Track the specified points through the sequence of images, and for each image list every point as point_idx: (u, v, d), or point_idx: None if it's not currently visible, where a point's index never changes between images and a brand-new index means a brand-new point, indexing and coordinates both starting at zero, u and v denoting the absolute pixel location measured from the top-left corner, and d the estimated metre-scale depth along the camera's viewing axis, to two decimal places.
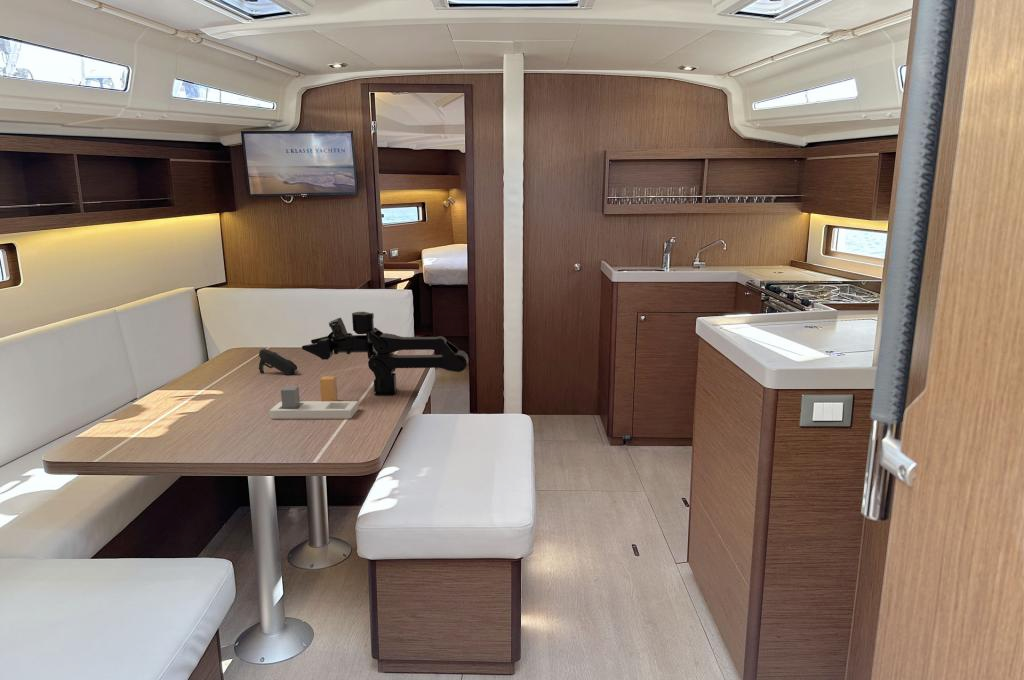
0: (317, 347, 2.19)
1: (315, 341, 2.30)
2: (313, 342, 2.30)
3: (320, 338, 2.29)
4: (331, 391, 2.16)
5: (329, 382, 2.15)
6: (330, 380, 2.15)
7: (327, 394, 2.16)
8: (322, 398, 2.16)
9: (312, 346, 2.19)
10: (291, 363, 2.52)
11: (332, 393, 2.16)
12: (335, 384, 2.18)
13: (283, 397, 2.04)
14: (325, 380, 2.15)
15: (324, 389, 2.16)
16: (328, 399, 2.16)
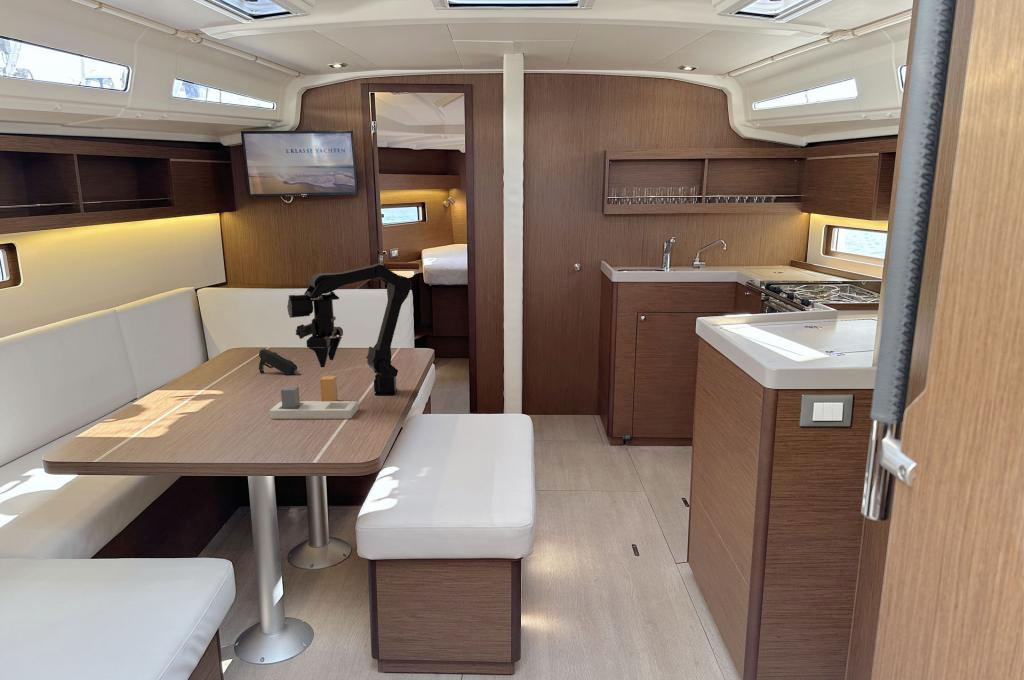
0: (319, 351, 2.09)
1: (330, 355, 2.20)
2: (332, 357, 2.20)
3: None
4: (331, 391, 2.16)
5: (329, 382, 2.15)
6: (330, 380, 2.15)
7: (327, 394, 2.16)
8: (322, 398, 2.16)
9: (318, 356, 2.10)
10: (291, 363, 2.52)
11: (332, 393, 2.16)
12: (335, 384, 2.18)
13: (283, 397, 2.04)
14: (325, 380, 2.15)
15: (324, 389, 2.16)
16: (328, 399, 2.16)
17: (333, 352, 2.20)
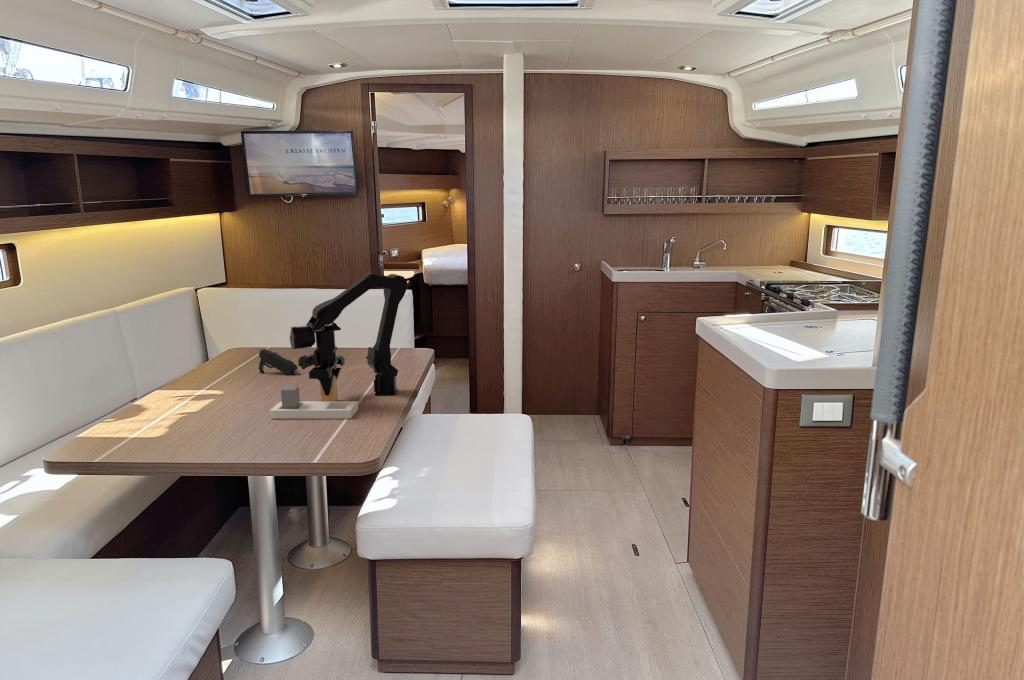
0: (324, 380, 2.14)
1: None
2: None
3: None
4: (331, 391, 2.16)
5: None
6: None
7: None
8: (322, 398, 2.16)
9: (323, 384, 2.14)
10: (291, 363, 2.52)
11: (332, 393, 2.16)
12: (335, 384, 2.18)
13: (283, 397, 2.04)
14: None
15: None
16: (328, 399, 2.16)
17: None
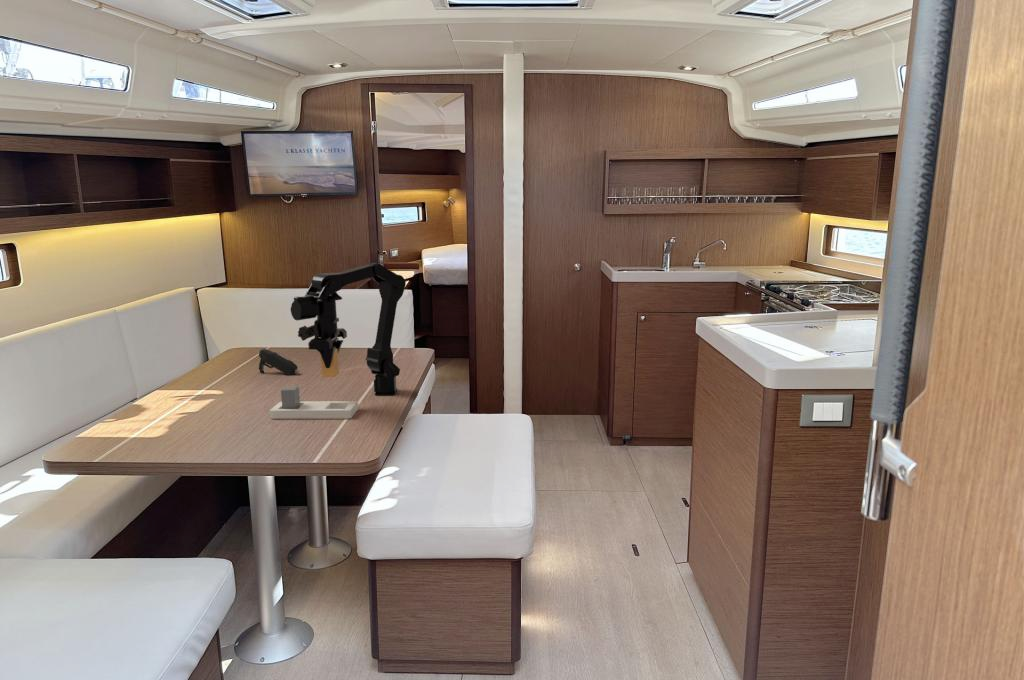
0: (324, 351, 2.06)
1: None
2: None
3: None
4: (332, 363, 2.08)
5: None
6: None
7: None
8: (322, 371, 2.09)
9: (323, 356, 2.06)
10: (291, 363, 2.52)
11: (333, 365, 2.08)
12: (336, 356, 2.10)
13: (283, 397, 2.04)
14: None
15: None
16: (329, 372, 2.09)
17: None
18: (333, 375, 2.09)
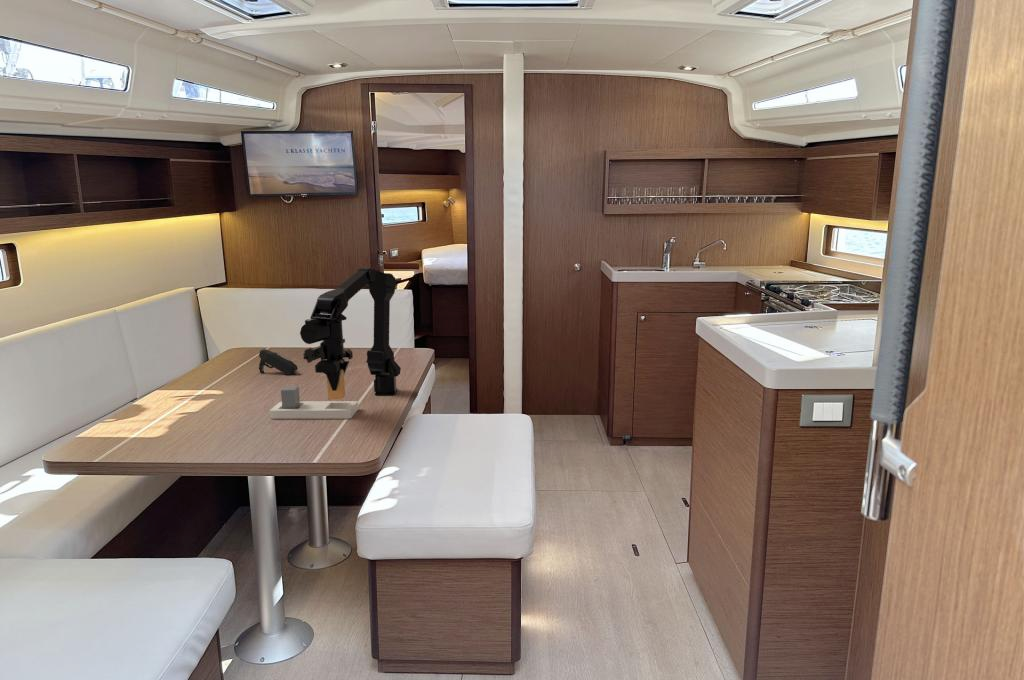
0: (331, 374, 2.01)
1: None
2: None
3: None
4: (338, 386, 2.03)
5: None
6: None
7: None
8: (329, 393, 2.04)
9: (330, 379, 2.01)
10: (291, 363, 2.52)
11: (339, 388, 2.03)
12: (342, 378, 2.05)
13: (283, 397, 2.04)
14: None
15: None
16: (335, 394, 2.04)
17: None
18: (340, 398, 2.04)
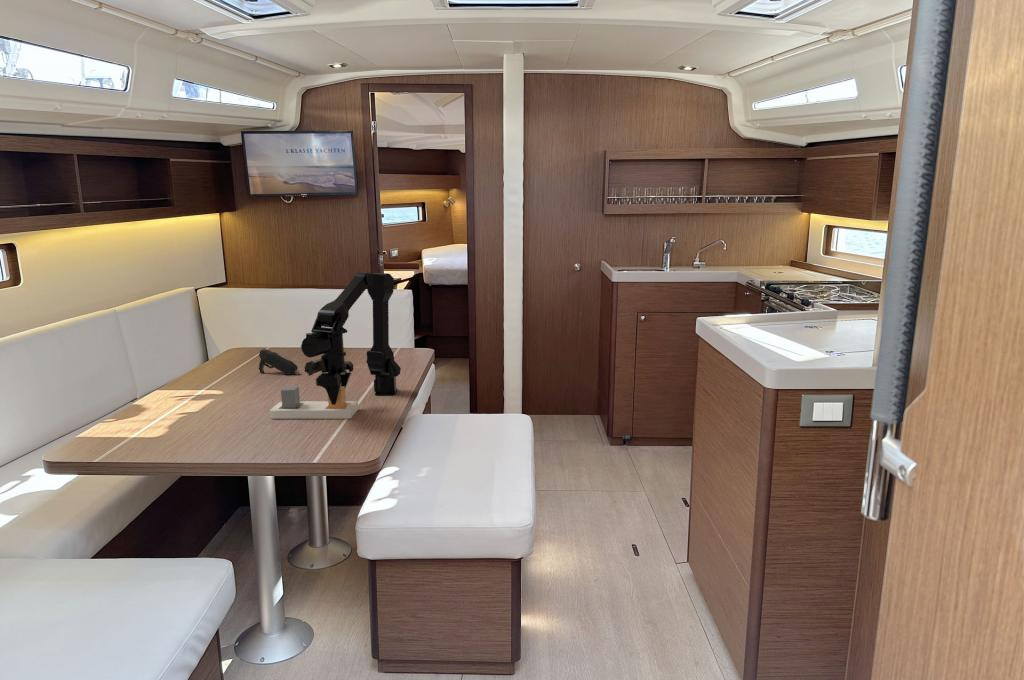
0: (330, 388, 2.00)
1: None
2: None
3: None
4: (339, 402, 2.04)
5: None
6: None
7: (335, 405, 2.04)
8: None
9: (329, 393, 2.00)
10: (291, 363, 2.52)
11: (340, 404, 2.04)
12: (343, 395, 2.06)
13: (283, 397, 2.04)
14: None
15: None
16: None
17: None
18: None
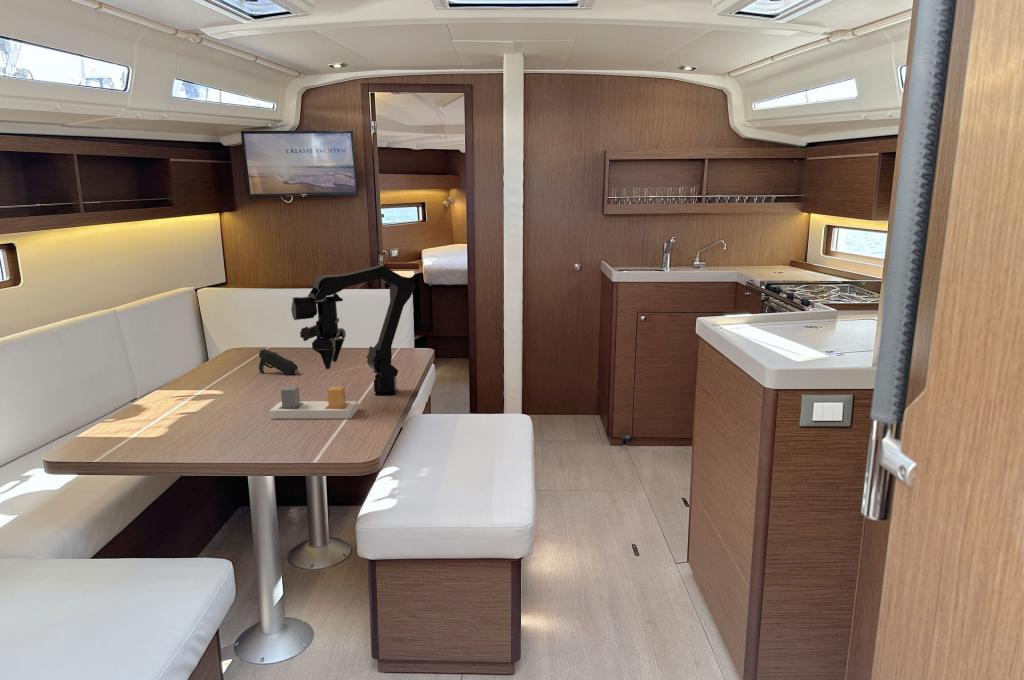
0: (325, 353, 2.10)
1: (334, 357, 2.21)
2: (335, 359, 2.21)
3: None
4: (339, 402, 2.04)
5: (337, 393, 2.03)
6: (338, 391, 2.03)
7: (335, 405, 2.04)
8: None
9: (324, 358, 2.10)
10: (291, 363, 2.52)
11: (340, 404, 2.04)
12: (344, 395, 2.06)
13: (283, 397, 2.04)
14: (333, 390, 2.03)
15: (332, 401, 2.04)
16: None
17: (336, 353, 2.21)
18: None
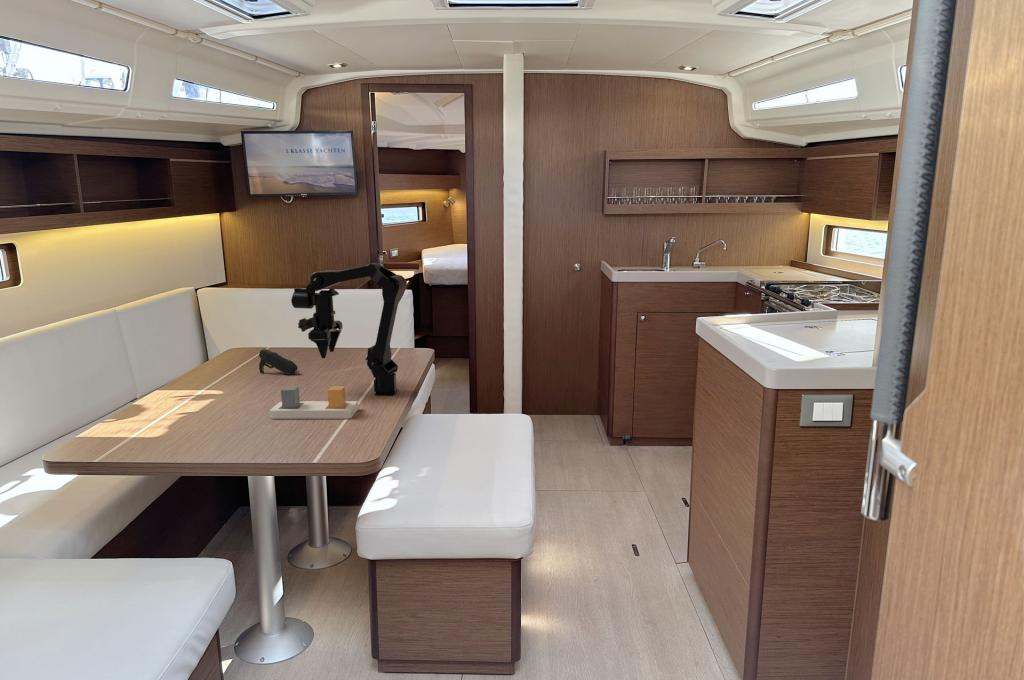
0: (320, 343, 2.23)
1: (331, 347, 2.34)
2: (332, 349, 2.34)
3: None
4: (339, 402, 2.04)
5: (337, 393, 2.03)
6: (338, 391, 2.03)
7: (335, 405, 2.04)
8: None
9: (319, 348, 2.23)
10: (291, 363, 2.52)
11: (340, 404, 2.04)
12: (344, 395, 2.06)
13: (283, 397, 2.04)
14: (333, 390, 2.03)
15: (332, 401, 2.04)
16: None
17: (333, 344, 2.34)
18: None
